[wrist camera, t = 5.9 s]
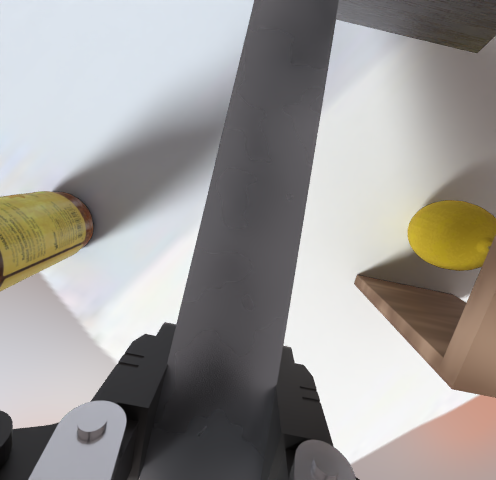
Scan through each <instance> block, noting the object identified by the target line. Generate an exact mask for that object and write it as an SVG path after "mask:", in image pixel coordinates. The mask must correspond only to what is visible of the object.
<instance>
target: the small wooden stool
mask: <svg viewBox="0 0 496 480" xmlns="http://www.w3.org/2000/svg"><path fill="white" fill-rule="evenodd" d="M354 284H355V285H356V287H357V288H358V289H359V290H360V291H361V292H362V293H363V294H364V295H365V296H366V297H367V298H368V299H369V301H370V302H371V303H372V304H373V305H374V306H375V307H376V308H377V309H378V310H379V311H380V312H381V313H382V314H383V316H384V317H385V318H386V319H387V320H388V321H389V322H390V323H391V324H392V325H393V326H394V327H395V328H396V330H397V331H398V332H399V333H400V334H401V335H402V336H403V337H404V338H405V339H406V340H407V341H408V342H409V344H410V345H411V346H412V347H413V348H414V349H415V350H416V351H417V352H418V353H419V354H420V355H421V356H422V357H423V359H424V360H425V361H426V362H427V363H428V364H429V365H430V366H431V367H432V368H433V369H434V370H435V371H436V373H437V374H438V375H439V376H440V377H441V378H442V379H443V380H444V381H445V382H446V383H447V384H448V385H449V387H450V388H451V389H454V390H459V391H464V392H469V393H474V394H480V395H485V396H490V397H495V398H496V235H495V237H494V240H493V242H492V244H491V247H490V249H489V251H488V254H487V256H486V259H485V261H484V263H483V266H482V268H481V270H480V273H479V275H478V277H477V280H476V282H475V284H474V287H473V289H472V292H471V294H470V296H469V299H468V301H467V303H466V302H464V301H463V300H461V299H459V298H458V297H456V296H454V295H452V294H448V293H443V292H438V291H433V290H428V289H423V288H419V287H414V286H409V285H404V284H399V283H395V282H390V281H385V280H380V279H375V278H370V277H366V276H361V275H357V276H356V280H355V283H354Z"/></svg>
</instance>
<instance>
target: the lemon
mask: <svg viewBox="0 0 496 480" xmlns="http://www.w3.org/2000/svg"><path fill="white" fill-rule="evenodd" d="M495 235H496V218H495V217H494V216H493V215H492V214H490V213H489V212H488V211H486V210H485V209H483V208H481V207H479V206H477V205H474V204H471V203H467V202H464V201H454V200H445V201H439V202H435V203H432V204H429V205H427V206H425V207H423V208H422V209H421V210H419V211H418V212H417V213H416V214H415V215H414V216H413V218H412V219H411V221H410V223H409V227H408V240H409V243H410V245H411V247H412V249H413V250H414V252H415V253H416V254H417V255H418V256H420V257H421V258H422V259H423V260H424V261H426V262H428V263H430V264H432V265H434V266H437V267H440V268H444V269H449V270H456V271H462V270H472V269H475V268H479V267H482V266H483V263H484V261H485V259H486V256H487V254H488V251H489V249H490V247H491V244H492V242H493V240H494V237H495Z"/></svg>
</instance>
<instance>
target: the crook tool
mask: <svg viewBox="0 0 496 480" xmlns="http://www.w3.org/2000/svg"><path fill="white" fill-rule="evenodd" d="M336 19H337V20H341V21H345V22H349V23H353V24H357V25H362V26H366V27H370V28H374V29H378V30H382V31H387V32H391V33H395V34H399V35H403V36H407V37H412V38H416V39H420V40H424V41H428V42H432V43H436V44H441V45H445V46H449V47H453V48H457V49H461V50H466V51H470V52H474V53H478V52H479V51H480V50H481V49H482V48H483V47H484V46H485V45H486V44H487V43H488V42H489V41H490V40H491V39H492V38H493V37H494V36H495V35H496V0H254V4H253V8H252V13H251V17H250V21H249V25H248V29H247V33H246V38H245V42H244V46H243V50H242V54H241V58H240V62H239V67H238V71H237V75H236V79H235V83H234V87H233V92H232V96H231V100H230V104H229V108H228V112H227V117H226V121H225V125H224V129H223V133H222V137H221V141H220V146H219V150H218V154H217V158H216V162H215V166H214V171H213V175H212V179H211V183H210V187H209V191H208V196H207V200H206V204H205V208H204V212H203V216H202V221H201V225H200V229H199V233H198V237H197V241H196V245H195V250H194V254H193V258H192V262H191V266H190V270H189V275H188V279H187V283H186V287H185V291H184V295H183V300H182V304H181V308H180V312H179V316H178V320H177V324H176V329H175V333H174V337H173V341H172V345H171V349H170V354H169V358H168V362H167V364H168V366H167V370H166V374H165V378H164V382H163V386H162V391H161V395H160V399H159V403H158V407H157V411H156V416H155V420H154V424H153V428H152V432H151V436H150V441H149V445H148V449H147V453H146V457H145V461H144V466H143V469H142V472H141V474H140V478H139V480H261V475H262V468H263V462H264V456H265V450H266V444H267V438H268V431H269V425H270V419H271V413H272V407H273V401H274V394H275V388H276V385H277V381H278V375H279V368H280V362H281V356H282V350H283V344H284V337H285V331H286V325H287V319H288V313H289V306H290V300H291V294H292V288H293V282H294V275H295V269H296V263H297V257H298V251H299V245H300V238H301V232H302V226H303V220H304V214H305V207H306V201H307V195H308V189H309V183H310V176H311V170H312V164H313V158H314V152H315V145H316V139H317V133H318V127H319V121H320V114H321V108H322V102H323V96H324V90H325V84H326V77H327V71H328V65H329V59H330V53H331V46H332V40H333V34H334V28H335V22H336Z"/></svg>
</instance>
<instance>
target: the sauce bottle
mask: <svg viewBox="0 0 496 480" xmlns="http://www.w3.org/2000/svg"><path fill="white" fill-rule="evenodd" d="M92 234H93V222H92V216H91V214H90V212H89V210H88V209H87V207H86V205H85V204H84V203H82V202H81V201H80V200H79V199H78V198H76V197H74V196H73V195H71V194H68V193H65V192H49V191H41V192H34V193H26V194H18V195H10V196H3V197H0V291H2V290H4V289H6V288H8V287H10V286H12V285H14V284H16V283H18V282H20V281H22V280H24V279H26V278H28V277H30V276H32V275H34V274H36V273H38V272H40V271H42V270H44V269H46V268H48V267H50V266H52V265H54V264H56V263H58V262H60V261H62V260H64V259H66V258H68V257H70V256H72V255H74V254H75V253H77V252H78V251H79V250H80V249H81V248H83V247H84V246H85V245H86V244H87V243H88V241H89V240H90V239H91V237H92Z"/></svg>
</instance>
